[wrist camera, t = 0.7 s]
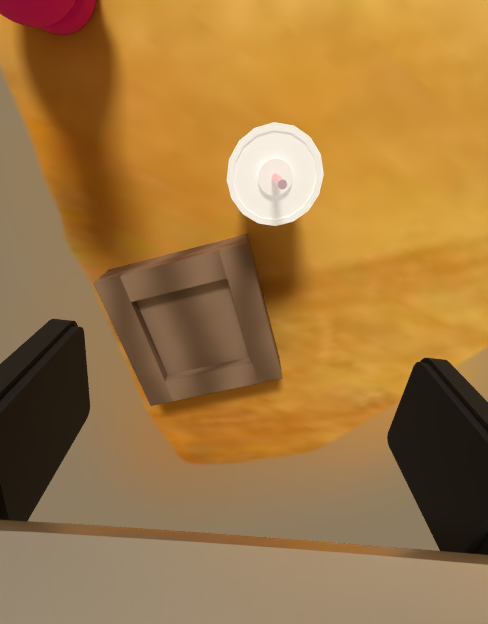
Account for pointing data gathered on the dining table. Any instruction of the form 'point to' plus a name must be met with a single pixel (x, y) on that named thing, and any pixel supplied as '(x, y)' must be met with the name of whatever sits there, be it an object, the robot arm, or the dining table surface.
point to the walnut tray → (193, 321)
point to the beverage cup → (275, 174)
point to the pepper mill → (49, 14)
